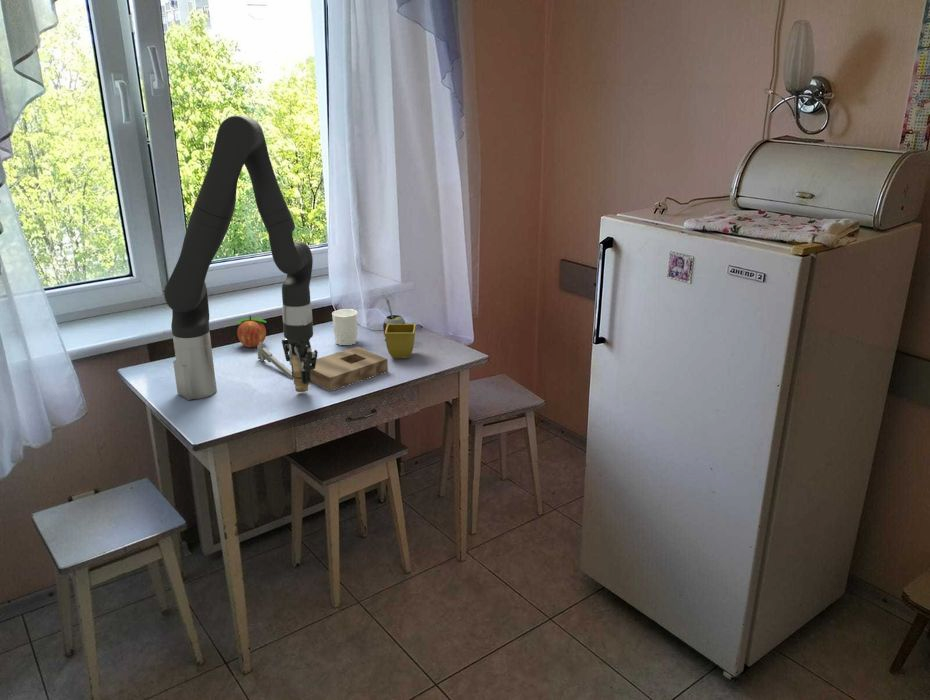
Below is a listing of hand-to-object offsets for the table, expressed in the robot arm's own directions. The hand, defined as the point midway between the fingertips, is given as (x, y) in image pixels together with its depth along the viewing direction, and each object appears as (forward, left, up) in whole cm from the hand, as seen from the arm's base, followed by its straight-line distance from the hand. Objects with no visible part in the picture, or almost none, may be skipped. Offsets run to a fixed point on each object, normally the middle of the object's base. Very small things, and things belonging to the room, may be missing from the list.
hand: (301, 380), depth 202 cm
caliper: (+4, +20, -5) cm, 21 cm away
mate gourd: (+44, +15, -4) cm, 47 cm away
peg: (0, 0, -3) cm, 3 cm away
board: (+16, +3, -4) cm, 17 cm away
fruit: (+9, +42, -4) cm, 43 cm away
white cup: (+32, +24, -4) cm, 41 cm away
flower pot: (+37, +3, -4) cm, 38 cm away
